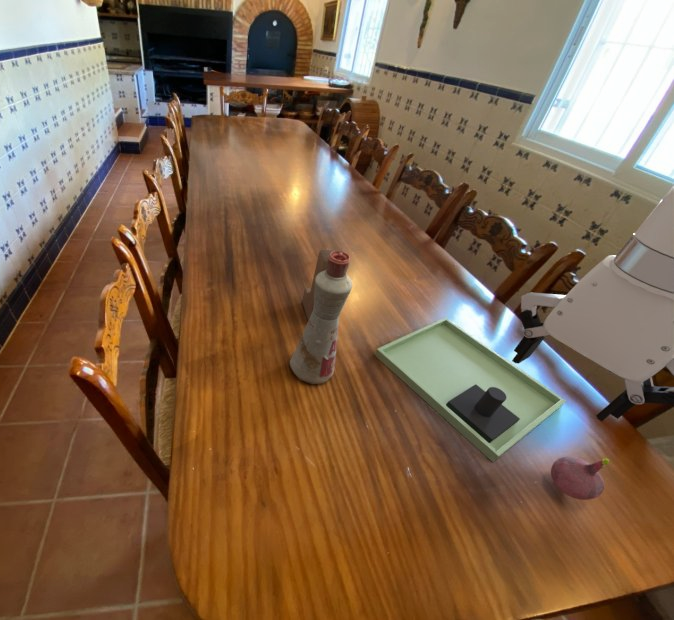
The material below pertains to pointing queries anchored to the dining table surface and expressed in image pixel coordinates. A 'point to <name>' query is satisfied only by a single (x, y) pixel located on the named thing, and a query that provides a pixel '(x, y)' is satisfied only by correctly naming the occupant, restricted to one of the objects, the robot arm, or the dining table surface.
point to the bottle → (323, 322)
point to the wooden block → (309, 292)
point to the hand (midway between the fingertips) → (558, 385)
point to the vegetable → (578, 477)
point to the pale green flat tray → (467, 380)
